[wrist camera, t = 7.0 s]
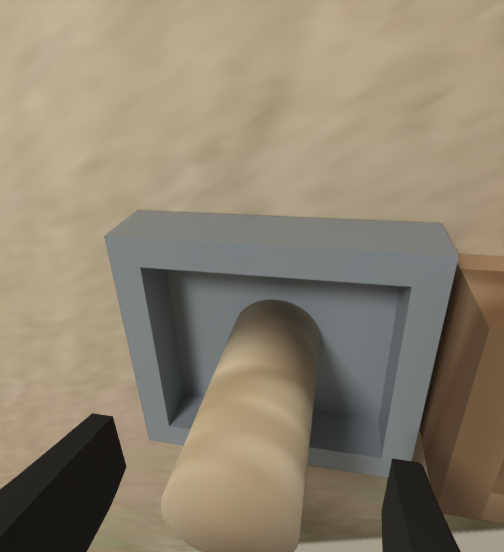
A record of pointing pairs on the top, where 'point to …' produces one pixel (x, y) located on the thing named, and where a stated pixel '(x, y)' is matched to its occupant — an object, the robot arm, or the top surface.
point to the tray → (297, 290)
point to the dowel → (250, 438)
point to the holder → (469, 395)
